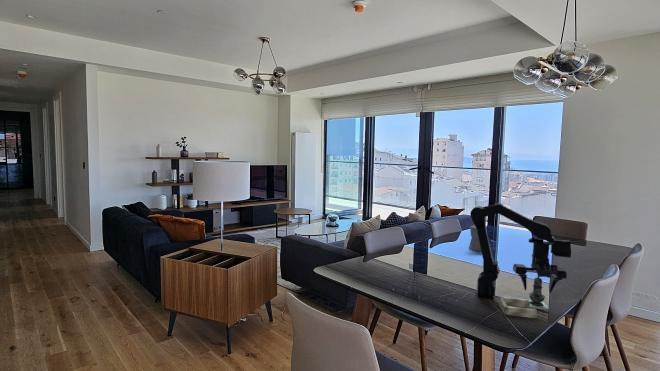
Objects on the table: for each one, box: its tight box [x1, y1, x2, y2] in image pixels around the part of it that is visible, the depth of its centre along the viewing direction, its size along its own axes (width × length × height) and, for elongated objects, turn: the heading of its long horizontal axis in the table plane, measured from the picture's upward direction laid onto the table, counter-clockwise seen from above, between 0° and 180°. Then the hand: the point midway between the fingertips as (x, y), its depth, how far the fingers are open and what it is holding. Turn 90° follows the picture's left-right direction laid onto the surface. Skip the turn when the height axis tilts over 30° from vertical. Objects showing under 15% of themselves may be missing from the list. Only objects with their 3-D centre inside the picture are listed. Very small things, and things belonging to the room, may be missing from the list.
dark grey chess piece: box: [528, 275, 546, 306], centre depth 154 cm, size 6×6×12 cm
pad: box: [528, 299, 550, 310], centre depth 154 cm, size 7×7×1 cm
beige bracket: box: [497, 296, 538, 319], centre depth 148 cm, size 11×11×3 cm
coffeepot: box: [468, 224, 488, 252], centre depth 247 cm, size 15×9×18 cm, turn 118°
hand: (537, 291), depth 154 cm, fingers open, 9 cm apart
